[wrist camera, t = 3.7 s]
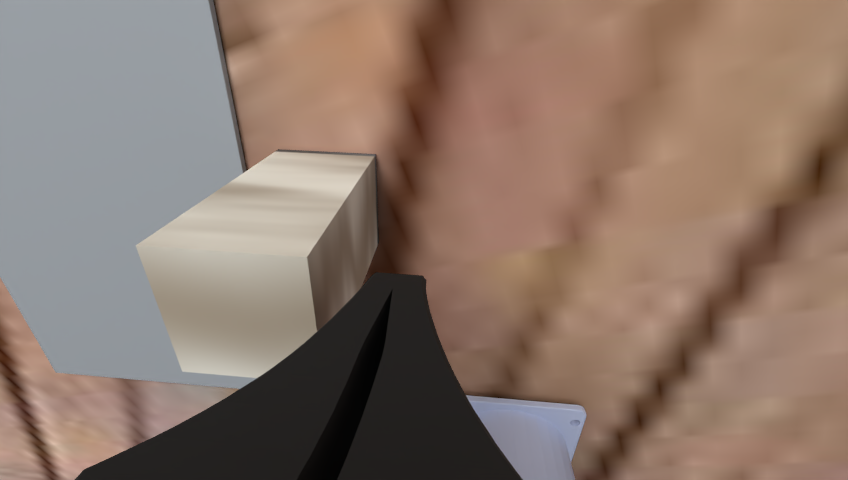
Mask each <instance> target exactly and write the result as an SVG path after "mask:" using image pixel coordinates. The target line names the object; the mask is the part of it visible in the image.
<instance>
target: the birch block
mask: <svg viewBox="0 0 848 480" xmlns="http://www.w3.org/2000/svg"><path fill="white" fill-rule="evenodd" d="M378 243H379V232H378V201H377V171H376V154H359V153H339V152H319V151H299V150H279V149H278V150H277V151H275V152H274V153H272V154H271V155H269V156H268V157H266V158H265V159H263V160H262V161H260V162H259V163H258V164H256V165H255V166H253V167H252V168H250V169H249V170H247V171H246V172H244V173H243V174H241V175H240V176H238V177H237V178H235V179H234V180H232V181H231V182H229V183H228V184H226V185H225V186H223V187H222V188H220V189H219V190H217V191H216V192H214V193H213V194H211V195H210V196H208V197H207V198H206V199H204V200H203V201H201V202H200V203H198V204H197V205H195V206H194V207H192V208H191V209H189V210H188V211H186V212H185V213H183V214H182V215H180V216H179V217H177V218H176V219H174V220H173V221H171V222H170V223H168V224H167V225H165V226H164V227H162V228H161V229H159V230H158V231H156V232H155V233H153V234H152V235H151V236H149V237H148V238H146V239H145V240H143V241H142V242H140V243H139V244H137V245H136V248H137V251H138V254H139V256H140V259H141V262H142V264H143V267H144V270H145V272H146V275H147V278H148V281H149V283H150V286H151V289H152V291H153V294H154V297H155V299H156V302H157V305H158V308H159V310H160V313H161V316H162V318H163V321H164V324H165V326H166V329H167V332H168V334H169V337H170V340H171V343H172V345H173V348H174V351H175V353H176V356H177V359H178V361H179V364H180V367H181V370H182V372H192V373H204V374H215V375H226V376H238V377H249V378H258V377H260V376H261V375H263V374H264V373H266V372H267V371H268V370H270V369H271V368H273V367H274V366H275V365H277V364H278V363H279V362H281V361H282V360H283V359H285V358H286V357H287V356H289V355H290V354H291V353H292V352H294V351H295V350H296V349H297V348H299V347H300V346H301V345H302V344H304V343H305V342H306V341H307V340H308V339H309V338H310V337H312V336H313V335H314V334H315V333H316V332H317V331H318V330H319V329H320V328H322V327H323V326H324V325H325V324H326V323H327V322H328V321H329V320H330V319H331V318H332V317H333V316H334V315H335V314H336V313H337V312H338V311H339V310H340V309H341V308H342V307H343V306H344V305H345V304H346V303H347V302H348V301H349V300H350V299H351V298H352V297H353V296H354V295H355V294H356V293H357V292H358V291H359V290H360V288H361V287H362V285H363V282H364V279H365V277H366V274H367V272H368V269H369V266H370V264H371V261H372V259H373V256H374V253H375V251H376V248H377V246H378Z"/></svg>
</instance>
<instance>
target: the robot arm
mask: <svg viewBox="0 0 848 480" xmlns="http://www.w3.org/2000/svg"><path fill="white" fill-rule="evenodd" d="M585 419H586V412H585V409H584V407H582V406H580V405H573V404H562V403H550V402H539V401H527V400H516V399H504V398H492V397H481V396H469V395H465V393H464V391H463V390H462V388H461V386H460V384H459V382H458V380H457V378H456V376H455V374H454V372H453V370H452V368H451V366H450V364H449V362H448V360H447V357H446V355H445V353H444V350H443V348H442V345H441V343H440V340H439V338H438V335H437V332H436V329H435V326H434V323H433V320H432V317H431V313H430V309H429V305H428V300H427V295H426V279H425V278H424V277H423V276H419V275H405V274H391V273H377V272H376V273H375V274H373V275H372V276H371V277H370V278H369V279H368V281H367V282H366V283H365V284H364V285H363V286H362V287H361V288H360V290H359V291H358V292H357V293H356V294H355V295H354V296H353V297H352V298H351V299H350V300H349V301H348V302H347V303H346V304H345V305H344V306H343V307H342V308H341V309H340V310H339V311H338V312H337V313H336V314H335V315H334V316H333V317H332V318H331V319H330V320H329V321H328V322H327V323H326V324H325V325H324V326H323V327H322V328H320V329H319V330H318V331H317V332H316V333H315V334H314V335H313V336H312V337H310V338H309V339H308V340H307V341H306V342H305V343H304V344H302V345H301V346H300V347H299V348H297V349H296V350H295V351H294V352H292V353H291V354H290V355H289V356H287V357H286V358H285V359H283V360H282V361H281V362H279V363H278V364H277V365H275V366H274V367H273V368H271V369H270V370H268V371H267V372H266V373H264V374H263V375H261V376H260V377H258V378H256V379H255V380H253V381H252V382H250V383H249V384H247V385H246V386H244V387H242V388H241V389H239V390H238V391H236V392H235V393H233V394H232V395H230V396H228V397H227V398H225V399H223V400H222V401H220V402H218V403H217V404H215V405H213V406H211V407H210V408H208V409H206V410H204V411H203V412H201V413H199V414H197V415H195V416H193V417H192V418H190V419H188V420H186V421H184V422H182V423H180V424H179V425H177V426H175V427H173V428H171V429H169V430H167V431H165V432H163V433H161V434H159V435H157V436H155V437H153V438H151V439H149V440H147V441H145V442H142V443H140V444H138V445H136V446H134V447H132V448H130V449H128V450H126V451H123V452H121V453H119V454H117V455H115V456H113V457H111V458H109V459H106V460H104V461H102V462H100V463H98V464H96V465H93V466H91V467H89V468H86V469H84V470H83V471H82V472H81V473H80V475H79V476H78V477H77V478H76V479H75V480H575V477H574V473H573V469H572V465H571V461H572V458H573V455H574V452H575V449H576V446H577V443H578V440H579V437H580V434H581V431H582V428H583V425H584V422H585Z"/></svg>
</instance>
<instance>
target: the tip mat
mask: <svg viewBox="0 0 848 480" xmlns="http://www.w3.org/2000/svg"><path fill="white" fill-rule="evenodd" d="M244 172H246V166H245V161H244V155H243V150H242V145H241V140H240V135H239V130H238V125H237V120H236V115H235V109H234V104H233V99H232V94H231V89H230V84H229V79H228V74H227V68H226V63H225V58H224V53H223V48H222V43H221V38H220V33H219V27H218V22H217V17H216V12H215V7H214V2H213V0H0V277H1V279H2V281H3V283H4V284H5V286H6V288H7V289H8V291H9V293H10V295H11V296H12V298H13V300H14V302H15V303H16V305H17V307H18V308H19V310H20V312H21V314H22V315H23V317H24V319H25V320H26V322H27V324H28V326H29V327H30V329H31V331H32V332H33V334H34V336H35V338H36V339H37V341H38V343H39V344H40V346H41V348H42V350H43V351H44V353H45V355H46V357H47V358H48V360H49V362H50V363H51V365H52V367H53V369H54V370H55V372H57V373H68V374H79V375H91V376H102V377H113V378H125V379H136V380H147V381H158V382H170V383H181V384H192V385H204V386H215V387H226V388H238V389H241V388H242V387H244V386H246V385H247V384H249V383H250V382H252V381H253V380H255V379H256V378H249V377H238V376H226V375H215V374H204V373H192V372H182V370H181V367H180V364H179V361H178V359H177V356H176V353H175V351H174V348H173V345H172V343H171V340H170V337H169V334H168V332H167V329H166V326H165V324H164V321H163V318H162V316H161V313H160V310H159V308H158V305H157V302H156V299H155V297H154V294H153V291H152V289H151V286H150V283H149V281H148V278H147V275H146V272H145V270H144V267H143V264H142V262H141V259H140V256H139V254H138V251H137V248H136V245H137V244H139V243H140V242H142V241H143V240H145V239H146V238H148V237H149V236H151V235H152V234H153V233H155V232H156V231H158V230H159V229H161V228H162V227H164V226H165V225H167V224H168V223H170V222H171V221H173V220H174V219H176V218H177V217H179V216H180V215H182V214H183V213H185V212H186V211H188V210H189V209H191V208H192V207H194V206H195V205H197V204H198V203H200V202H201V201H203V200H204V199H206V198H207V197H208V196H210V195H211V194H213V193H214V192H216V191H217V190H219V189H220V188H222V187H223V186H225V185H226V184H228V183H229V182H231V181H232V180H234V179H235V178H237V177H238V176H240V175H241V174H243V173H244Z"/></svg>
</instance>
